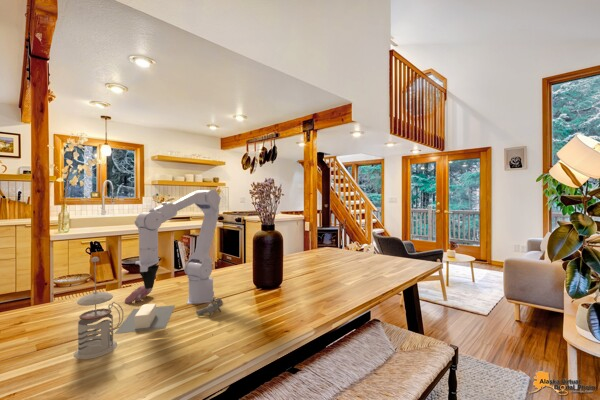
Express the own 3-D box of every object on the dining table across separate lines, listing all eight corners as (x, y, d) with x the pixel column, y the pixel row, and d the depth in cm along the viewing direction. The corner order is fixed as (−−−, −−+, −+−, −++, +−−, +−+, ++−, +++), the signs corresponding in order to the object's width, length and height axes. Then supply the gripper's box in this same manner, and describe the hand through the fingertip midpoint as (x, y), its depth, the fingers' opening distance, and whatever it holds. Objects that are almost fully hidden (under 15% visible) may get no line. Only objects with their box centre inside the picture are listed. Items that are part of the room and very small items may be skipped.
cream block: (155, 303, 101) (148, 314, 92) (155, 314, 101) (149, 327, 92) (143, 304, 100) (134, 316, 91) (143, 316, 100) (134, 328, 91)
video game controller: (131, 308, 112) (139, 293, 112) (122, 302, 113) (129, 287, 112) (149, 300, 122) (156, 285, 121) (141, 294, 123) (147, 279, 122)
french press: (88, 341, 84) (87, 253, 84) (130, 339, 85) (130, 252, 85) (63, 360, 74) (62, 261, 74) (112, 358, 75) (111, 260, 75)
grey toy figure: (201, 310, 107) (225, 300, 108) (204, 326, 103) (229, 316, 104) (190, 301, 99) (216, 290, 100) (192, 317, 95) (219, 306, 96)
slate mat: (175, 306, 110) (175, 305, 110) (165, 329, 91) (165, 328, 91) (133, 310, 107) (133, 309, 107) (114, 335, 87) (114, 333, 87)
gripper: (141, 245, 105) (141, 282, 105) (129, 252, 91) (129, 296, 91) (162, 244, 107) (163, 281, 107) (154, 251, 93) (154, 294, 93)
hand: (149, 288), depth 99 cm, fingers closed
